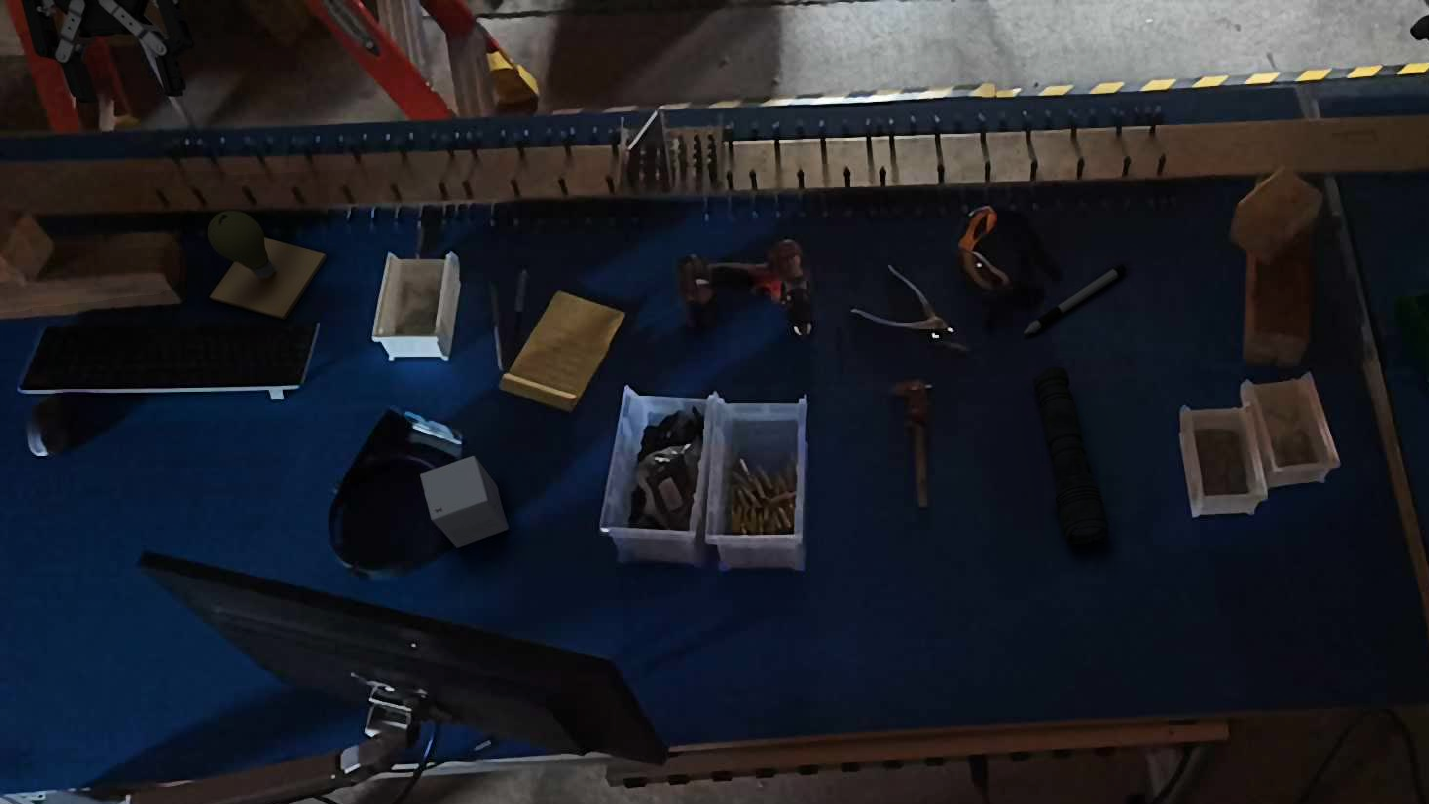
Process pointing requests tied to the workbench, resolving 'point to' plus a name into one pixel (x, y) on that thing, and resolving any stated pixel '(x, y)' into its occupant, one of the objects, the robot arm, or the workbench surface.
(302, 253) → the mat
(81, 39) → the robot arm
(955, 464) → the workbench surface
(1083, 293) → the pen
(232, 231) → the light bulb
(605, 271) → the workbench surface
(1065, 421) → the flashlight
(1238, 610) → the workbench surface
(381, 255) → the workbench surface
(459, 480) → the product box
